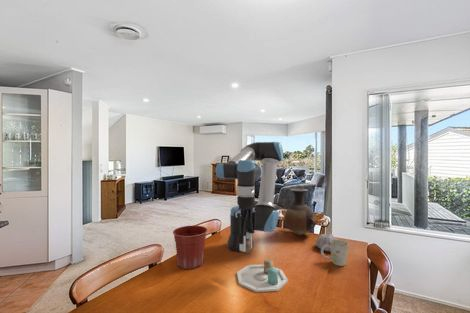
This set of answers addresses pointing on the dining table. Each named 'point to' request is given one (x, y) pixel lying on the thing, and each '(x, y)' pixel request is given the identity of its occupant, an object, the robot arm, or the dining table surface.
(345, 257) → the mug
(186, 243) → the flower pot
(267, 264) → the beige wooden cylinder
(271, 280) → the teal bead
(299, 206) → the vase
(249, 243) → the walnut bead
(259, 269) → the groove tray
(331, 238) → the sea urchin shell
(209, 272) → the dining table surface
